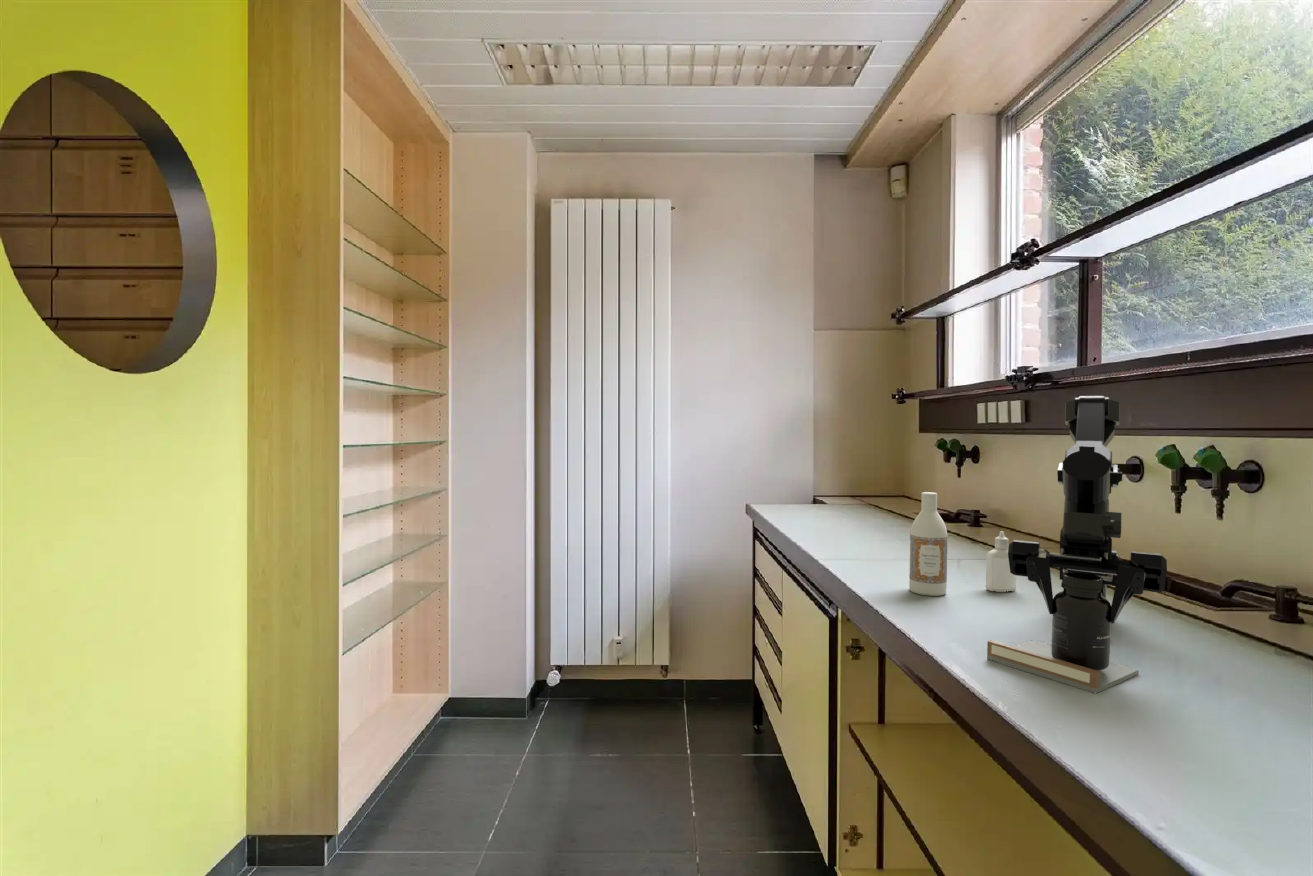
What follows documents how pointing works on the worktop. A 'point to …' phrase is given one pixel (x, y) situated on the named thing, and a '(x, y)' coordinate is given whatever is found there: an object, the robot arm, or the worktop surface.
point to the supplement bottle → (1081, 622)
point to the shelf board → (1057, 666)
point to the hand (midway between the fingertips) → (1080, 617)
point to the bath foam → (928, 550)
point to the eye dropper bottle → (999, 567)
